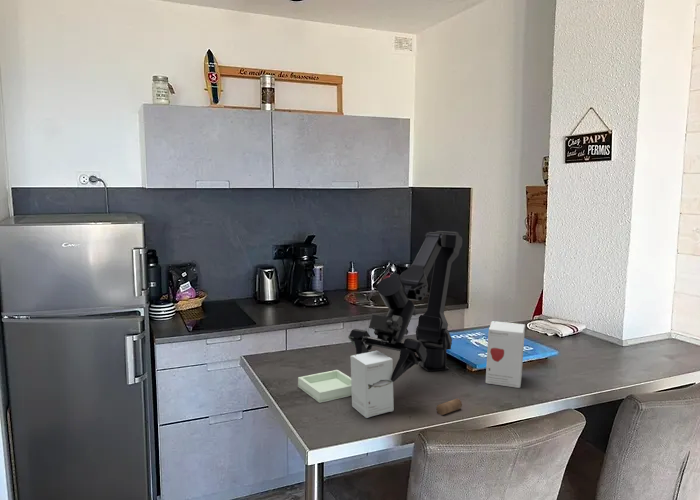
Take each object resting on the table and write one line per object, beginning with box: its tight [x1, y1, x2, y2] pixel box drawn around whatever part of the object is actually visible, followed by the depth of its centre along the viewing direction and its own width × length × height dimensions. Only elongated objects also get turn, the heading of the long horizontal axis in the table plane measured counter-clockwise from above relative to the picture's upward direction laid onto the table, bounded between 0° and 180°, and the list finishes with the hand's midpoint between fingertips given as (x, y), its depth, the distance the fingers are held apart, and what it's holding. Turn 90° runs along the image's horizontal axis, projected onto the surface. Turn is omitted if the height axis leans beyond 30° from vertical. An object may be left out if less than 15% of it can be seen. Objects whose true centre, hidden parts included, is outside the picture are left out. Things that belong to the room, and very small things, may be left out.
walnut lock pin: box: [435, 398, 463, 416], centre depth 124 cm, size 6×2×2 cm
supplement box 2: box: [485, 320, 526, 389], centre depth 143 cm, size 9×9×15 cm
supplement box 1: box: [349, 350, 395, 419], centre depth 123 cm, size 7×7×13 cm
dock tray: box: [297, 369, 352, 403], centre depth 135 cm, size 12×12×2 cm
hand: (373, 376), depth 123 cm, fingers open, 9 cm apart
